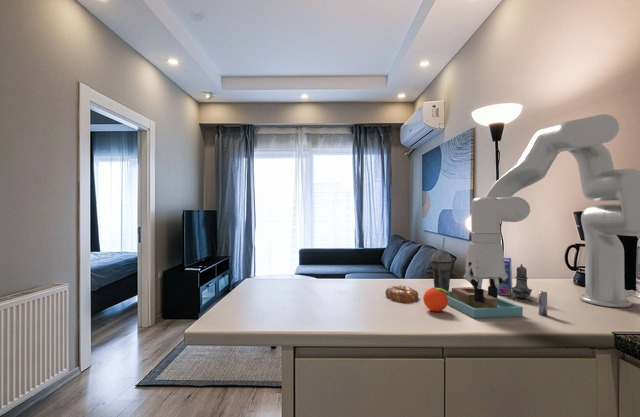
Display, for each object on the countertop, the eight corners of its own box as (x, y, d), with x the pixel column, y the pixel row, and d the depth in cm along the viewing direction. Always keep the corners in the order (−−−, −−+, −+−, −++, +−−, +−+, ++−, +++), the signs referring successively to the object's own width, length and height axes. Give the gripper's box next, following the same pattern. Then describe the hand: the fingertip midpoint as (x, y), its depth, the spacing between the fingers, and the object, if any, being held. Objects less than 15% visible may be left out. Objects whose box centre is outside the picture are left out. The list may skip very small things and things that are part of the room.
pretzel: (423, 304, 106) (423, 292, 106) (389, 303, 106) (389, 292, 106) (413, 294, 118) (413, 283, 118) (383, 294, 118) (383, 283, 118)
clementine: (454, 310, 98) (454, 286, 98) (448, 316, 92) (448, 291, 92) (427, 306, 102) (426, 283, 102) (420, 312, 96) (420, 287, 96)
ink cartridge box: (495, 288, 125) (495, 250, 125) (512, 290, 122) (512, 251, 122) (493, 294, 116) (493, 253, 116) (511, 296, 113) (511, 254, 113)
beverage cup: (426, 291, 120) (426, 237, 120) (443, 290, 122) (443, 236, 122) (439, 296, 113) (439, 239, 113) (457, 295, 115) (456, 238, 115)
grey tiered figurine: (535, 302, 105) (535, 265, 106) (515, 301, 107) (515, 265, 107) (527, 298, 111) (527, 262, 111) (508, 297, 112) (508, 262, 112)
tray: (478, 297, 112) (478, 290, 112) (522, 316, 92) (522, 307, 92) (437, 299, 110) (437, 291, 110) (474, 318, 90) (474, 309, 90)
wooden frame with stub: (477, 299, 108) (476, 286, 108) (507, 312, 94) (507, 298, 94) (451, 300, 106) (451, 288, 106) (478, 313, 93) (478, 299, 93)
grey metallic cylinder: (543, 313, 94) (543, 291, 94) (549, 315, 92) (548, 292, 92) (537, 313, 94) (536, 291, 94) (542, 316, 92) (542, 293, 92)
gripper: (501, 237, 102) (502, 296, 102) (452, 238, 99) (452, 299, 99) (520, 239, 94) (520, 303, 94) (467, 240, 92) (467, 306, 92)
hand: (485, 300), depth 97 cm, fingers open, 3 cm apart
